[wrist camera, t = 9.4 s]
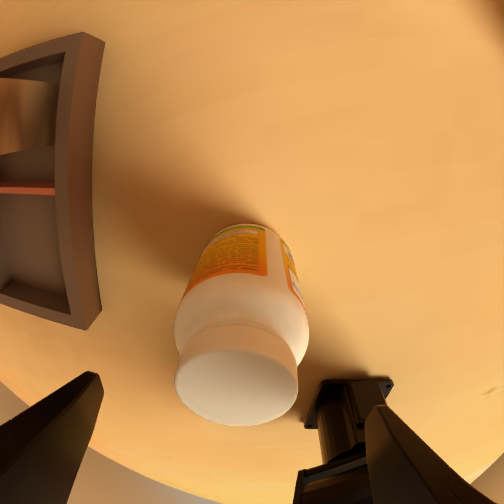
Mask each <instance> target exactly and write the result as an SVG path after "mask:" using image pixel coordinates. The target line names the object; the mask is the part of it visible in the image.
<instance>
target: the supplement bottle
mask: <svg viewBox="0 0 504 504" xmlns="http://www.w3.org/2000/svg"><path fill="white" fill-rule="evenodd" d="M308 340H309V327H308V319H307V315H306V311H305V306H304V302H303V298H302V293H301V289H300V285H299V281H298V277H297V273H296V269H295V264H294V261H293V257H292V254H291V252H290V250H289V248H288V246H287V244H286V243H285V242H284V240H283V239H282V238H281V237H280V236H279V235H278V234H276V233H275V232H273V231H272V230H270V229H268V228H266V227H263V226H260V225H255V224H237V225H233V226H230V227H227V228H225V229H223V230H221V231H220V232H218V233H217V234H216V235H215V236H214V237H213V238H212V239H211V240H210V241H209V242H208V244H207V245H206V247H205V249H204V251H203V253H202V255H201V257H200V259H199V261H198V264H197V266H196V268H195V270H194V273H193V275H192V277H191V279H190V281H189V283H188V286H187V288H186V291H185V293H184V295H183V298H182V300H181V302H180V305H179V307H178V310H177V313H176V316H175V320H174V341H175V344H176V347H177V350H178V352H179V354H180V358H179V362H178V366H177V369H176V373H175V378H174V384H175V389H176V392H177V395H178V397H179V398H180V400H181V401H182V402H183V403H184V405H185V406H186V407H188V408H189V409H190V410H191V411H193V412H194V413H195V414H197V415H199V416H200V417H203V418H205V419H207V420H209V421H212V422H216V423H219V424H224V425H231V426H251V425H258V424H263V423H266V422H269V421H272V420H274V419H276V418H278V417H280V416H281V415H283V414H284V413H285V412H287V411H288V410H289V409H290V408H291V406H292V405H293V404H294V402H295V400H296V397H297V394H298V376H297V366H298V365H299V363H300V362H301V360H302V359H303V357H304V354H305V352H306V349H307V346H308Z"/></svg>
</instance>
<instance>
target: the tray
mask: <svg viewBox="0 0 504 504" xmlns="http://www.w3.org/2000/svg"><path fill="white" fill-rule="evenodd" d="M104 46H105V42H104V41H102V40H100V39H98V38H95V37H93V36H91V35H89V34H87V33H85V32H81V33H76V34H72V35H68V36H65V37H61V38H57V39H54V40H50V41H47V42H44V43H41V44H38V45H35V46H32V47H29V48H26V49H23V50H21V51H18V52H15V53H13V54H10V55H8V56H5V57H3V58H0V78H10V79H23V80H33V81H42V82H50V83H56V91H55V100H54V111H53V124H52V145H50V146H44V147H38V148H32V149H27V150H22V151H17V152H12V153H7V154H3V155H0V303H1V304H3V305H6V306H9V307H12V308H14V309H17V310H20V311H23V312H26V313H29V314H32V315H35V316H38V317H41V318H44V319H47V320H51V321H54V322H57V323H61V324H64V325H67V326H71V327H75V328H78V329H82V330H87V329H88V328H89V326H90V325H91V324H92V322H93V321H94V320H95V319H96V317H97V316H98V315H99V313H100V312H101V311H102V306H101V300H100V293H99V286H98V278H97V269H96V260H95V249H94V236H93V218H92V146H93V129H94V117H95V106H96V97H97V89H98V82H99V75H100V68H101V62H102V56H103V51H104Z"/></svg>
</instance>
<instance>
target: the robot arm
mask: <svg viewBox="0 0 504 504" xmlns="http://www.w3.org/2000/svg"><path fill="white" fill-rule="evenodd" d="M393 386H394V383H393V381H392V380H391V379H377V380H324V381H323V382H321V384H320V386H319V389H318V391H317V394H316V396H315V398H314V401H313V403H312V405H311V408H310V410H309V412H308V415H307V417H306V419H305V421H304V428H306V429H318V433H319V440H320V447H321V454H322V461H323V465H320V466H317V467H313V468H310V469H307V470H306V469H303V470H300V471H298V476H297V481H296V487H295V493H294V499H293V504H497V503H495V502H493V501H492V500H490V499H489V498H487V497H486V496H485V495H483V494H482V493H481V492H479V491H478V490H477V489H475V488H474V487H473V486H471V485H470V484H469V483H468V482H466V481H465V480H464V479H463V478H462V477H461V476H459V475H458V474H457V473H456V472H455V471H454V470H453V469H452V468H451V467H449V465H448V464H447V463H446V462H445V461H443V460H442V459H441V458H440V457H439V456H438V455H437V454H436V453H435V452H434V451H433V450H432V449H431V448H430V447H429V446H428V445H427V444H426V443H425V442H424V441H423V440H422V439H421V438H420V437H419V436H418V435H417V434H416V433H415V432H414V431H413V430H412V429H411V428H410V427H408V426H407V425H406V424H405V423H404V422H403V421H402V420H401V419H400V418H399V417H398V416H397V415H396V414H395V413H394V412H393V411H392V410H391V409H390V408H389V407H388V405H387V403H386V400H385V399H386V397H387V396H388V394H389V393H390V391H391V389H392V387H393ZM103 395H104V389H103V386H102V383H101V379H100V376H99V375H98V374H97V373H94V372H91V371H86V372H84V373H83V374H81V375H80V376H78V377H76V378H75V379H73V380H72V381H70V382H69V383H67V384H66V385H64V386H62V387H61V388H59V389H58V390H56V391H55V392H53V393H51V394H50V395H48V396H47V397H45V398H44V399H42V400H40V401H39V402H37V403H36V404H34V405H33V406H31V407H30V408H28V409H26V410H25V411H23V412H22V413H20V414H19V415H17V416H15V417H14V418H12V420H9V421H7V422H6V423H4V424H2V425H1V426H0V504H67V501H68V498H69V495H70V492H71V489H72V486H73V483H74V481H75V478H76V475H77V472H78V470H79V467H80V464H81V462H82V459H83V456H84V454H85V451H86V449H87V446H88V444H89V441H90V439H91V436H92V434H93V431H94V427H95V424H96V420H97V416H98V413H99V409H100V406H101V402H102V399H103Z"/></svg>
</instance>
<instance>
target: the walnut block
mask: <svg viewBox="0 0 504 504" xmlns="http://www.w3.org/2000/svg"><path fill="white" fill-rule="evenodd" d="M55 91H56V83H50V82H42V81H33V80H23V79H10V78H0V155H3V154H7V153H12V152H17V151H22V150H27V149H32V148H38V147H44V146H50V145H52V124H53V111H54V100H55Z"/></svg>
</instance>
